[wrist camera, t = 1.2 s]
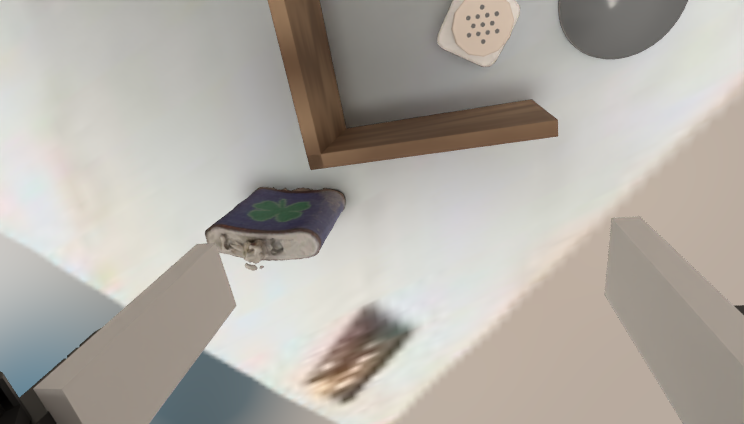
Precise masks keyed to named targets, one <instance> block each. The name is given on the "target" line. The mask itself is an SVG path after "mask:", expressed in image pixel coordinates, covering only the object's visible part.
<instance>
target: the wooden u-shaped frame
mask: <svg viewBox="0 0 744 424" xmlns="http://www.w3.org/2000/svg"><path fill="white" fill-rule="evenodd" d="M268 3H269V7H270V11H271V15H272V19H273V23H274V27H275V31H276V35H277V39H278V43H279V47H280V51H281V55H282V59H283V63H284V67H285V71H286V75H287V79H288V83H289V87H290V91H291V95H292V99H293V103H294V106H295V110H296V114H297V118H298V122H299V126H300V130H301V134H302V138H303V142H304V146H305V150H306V154H307V158H308V162H309V166H310V170H315V169H322V168H329V167H337V166H344V165H351V164H359V163H366V162H373V161H381V160H388V159H395V158H403V157H410V156H417V155H425V154H432V153H439V152H447V151H454V150H461V149H469V148H476V147H483V146H491V145H498V144H505V143H513V142H520V141H527V140H535V139H542V138H549V137H557V136H558V120H557V119H556V118H555V117H553V116H552V115H551V114H550V113H548V112H547V111H546V110H545V109H543V108H542V107H541V106H539V105H538V104H537V103H536V102H534V101H533V100H532V99H531V100H525V101H518V102H512V103H506V104H499V105H493V106H486V107H480V108H474V109H467V110H461V111H455V112H448V113H442V114H435V115H429V116H423V117H416V118H410V119H404V120H397V121H391V122H384V123H378V124H372V125H365V126H359V127H352V128H346V125H345V120H344V115H343V110H342V106H341V101H340V96H339V91H338V86H337V82H336V77H335V72H334V67H333V63H332V58H331V53H330V48H329V43H328V39H327V34H326V29H325V24H324V19H323V15H322V10H321V5H320V0H268Z"/></svg>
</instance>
